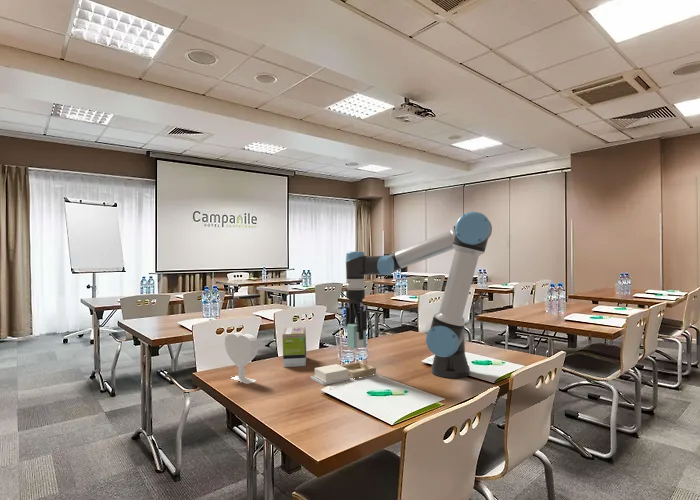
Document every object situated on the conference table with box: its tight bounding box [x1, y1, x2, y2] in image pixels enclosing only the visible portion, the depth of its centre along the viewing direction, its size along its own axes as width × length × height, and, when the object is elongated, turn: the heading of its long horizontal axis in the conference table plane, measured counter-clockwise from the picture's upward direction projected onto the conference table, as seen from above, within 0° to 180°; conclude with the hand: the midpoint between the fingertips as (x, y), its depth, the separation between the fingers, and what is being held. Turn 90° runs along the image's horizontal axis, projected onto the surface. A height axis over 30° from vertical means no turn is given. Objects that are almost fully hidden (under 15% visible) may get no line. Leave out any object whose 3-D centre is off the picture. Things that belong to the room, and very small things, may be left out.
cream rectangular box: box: [310, 363, 351, 386], centre depth 158 cm, size 10×12×4 cm
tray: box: [341, 361, 377, 380], centre depth 164 cm, size 12×11×3 cm
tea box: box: [282, 326, 307, 368], centre depth 183 cm, size 15×10×15 cm, turn 5°
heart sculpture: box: [224, 332, 259, 385], centre depth 159 cm, size 16×5×18 cm, turn 56°
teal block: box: [346, 322, 367, 349], centre depth 164 cm, size 5×6×9 cm
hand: (356, 345), depth 164 cm, fingers closed on teal block, 5 cm apart
